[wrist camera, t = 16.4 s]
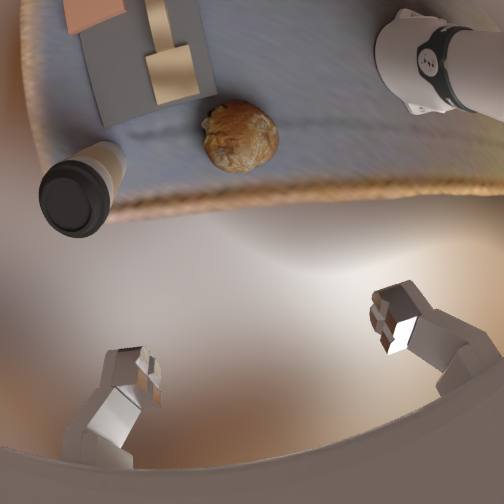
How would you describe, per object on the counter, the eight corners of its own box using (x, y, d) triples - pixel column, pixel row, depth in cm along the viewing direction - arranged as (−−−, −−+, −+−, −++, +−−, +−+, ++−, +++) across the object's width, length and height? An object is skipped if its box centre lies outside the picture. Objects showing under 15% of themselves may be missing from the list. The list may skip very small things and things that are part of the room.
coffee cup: (94, 200, 40) (57, 256, 28) (69, 150, 34) (17, 191, 22) (143, 177, 39) (118, 230, 27) (119, 123, 34) (78, 152, 22)
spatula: (127, -36, 19) (122, -42, 17) (168, -49, 19) (166, -55, 17) (158, 104, 33) (155, 106, 31) (199, 93, 33) (199, 94, 31)
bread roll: (220, 163, 44) (238, 198, 40) (181, 123, 35) (195, 156, 31) (273, 128, 42) (298, 158, 38) (242, 80, 33) (268, 106, 29)
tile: (117, -25, 19) (63, 0, 19) (124, 9, 23) (68, 34, 23) (121, -22, 21) (67, 2, 21) (127, 11, 24) (73, 35, 24)
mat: (186, -47, 21) (186, -49, 20) (217, 94, 34) (217, 94, 33) (75, -7, 20) (72, -9, 20) (106, 127, 34) (104, 129, 33)
